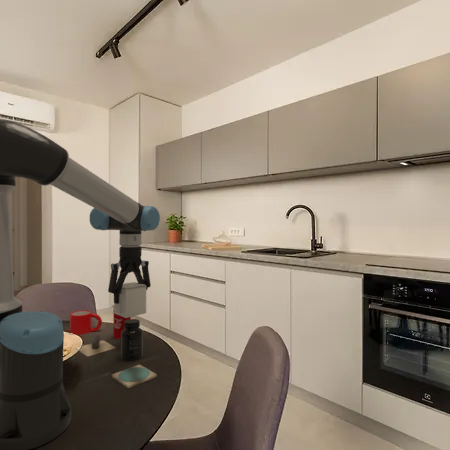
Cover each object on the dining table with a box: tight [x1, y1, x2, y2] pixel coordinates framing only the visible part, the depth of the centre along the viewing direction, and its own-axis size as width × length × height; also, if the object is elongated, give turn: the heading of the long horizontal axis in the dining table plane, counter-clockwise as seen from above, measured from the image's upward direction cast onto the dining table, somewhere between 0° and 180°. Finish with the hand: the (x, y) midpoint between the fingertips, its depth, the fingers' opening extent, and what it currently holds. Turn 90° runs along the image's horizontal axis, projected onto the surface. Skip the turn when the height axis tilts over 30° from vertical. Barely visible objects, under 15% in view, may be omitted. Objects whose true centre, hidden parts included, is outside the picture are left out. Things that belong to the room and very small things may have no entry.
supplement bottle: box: [120, 318, 144, 362], centre depth 102 cm, size 7×7×12 cm
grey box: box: [113, 281, 147, 318], centre depth 112 cm, size 8×8×10 cm
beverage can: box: [112, 312, 132, 340], centre depth 120 cm, size 6×6×12 cm
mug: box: [69, 309, 103, 336], centre depth 125 cm, size 8×12×8 cm, turn 96°
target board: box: [111, 364, 158, 389], centre depth 90 cm, size 9×9×1 cm
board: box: [78, 334, 117, 357], centre depth 108 cm, size 10×10×5 cm
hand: (130, 310), depth 112 cm, fingers closed on grey box, 8 cm apart
